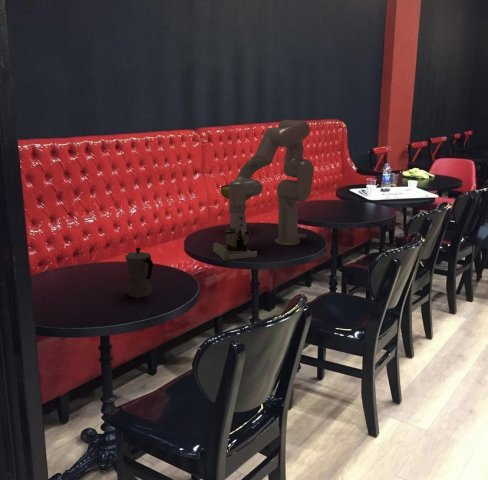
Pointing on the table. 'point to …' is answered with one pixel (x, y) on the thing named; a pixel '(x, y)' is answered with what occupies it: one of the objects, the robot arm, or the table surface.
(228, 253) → the chute mount
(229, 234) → the food container
